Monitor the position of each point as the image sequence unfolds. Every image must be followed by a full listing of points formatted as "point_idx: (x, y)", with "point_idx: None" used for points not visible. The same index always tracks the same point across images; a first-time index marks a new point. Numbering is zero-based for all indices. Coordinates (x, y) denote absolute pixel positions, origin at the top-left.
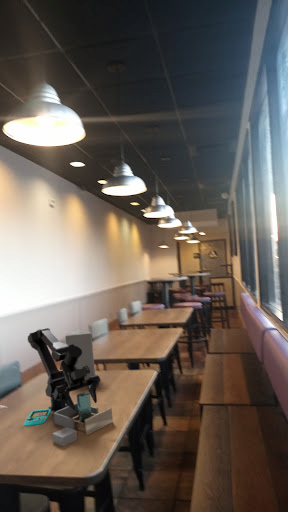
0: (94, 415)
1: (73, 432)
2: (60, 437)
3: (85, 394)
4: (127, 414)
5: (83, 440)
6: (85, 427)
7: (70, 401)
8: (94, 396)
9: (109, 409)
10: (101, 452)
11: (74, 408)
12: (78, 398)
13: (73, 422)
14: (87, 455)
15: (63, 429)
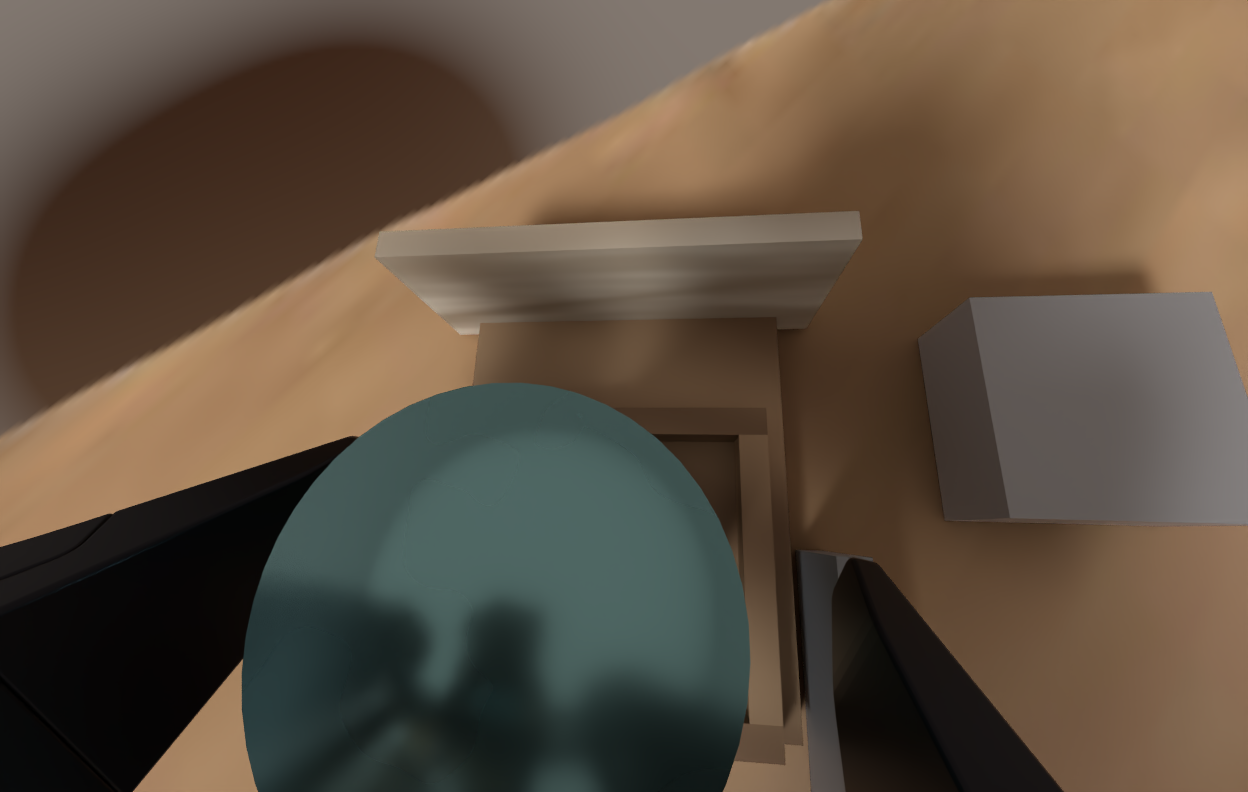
0: (677, 237)
1: (1018, 299)
2: (1217, 337)
3: (426, 561)
4: (271, 326)
5: (888, 269)
6: (827, 292)
7: (1030, 780)
8: (265, 490)
9: (420, 234)
10: (909, 14)
11: (878, 569)
12: (741, 612)
13: (843, 554)
14: (1018, 53)
15: (1087, 484)
